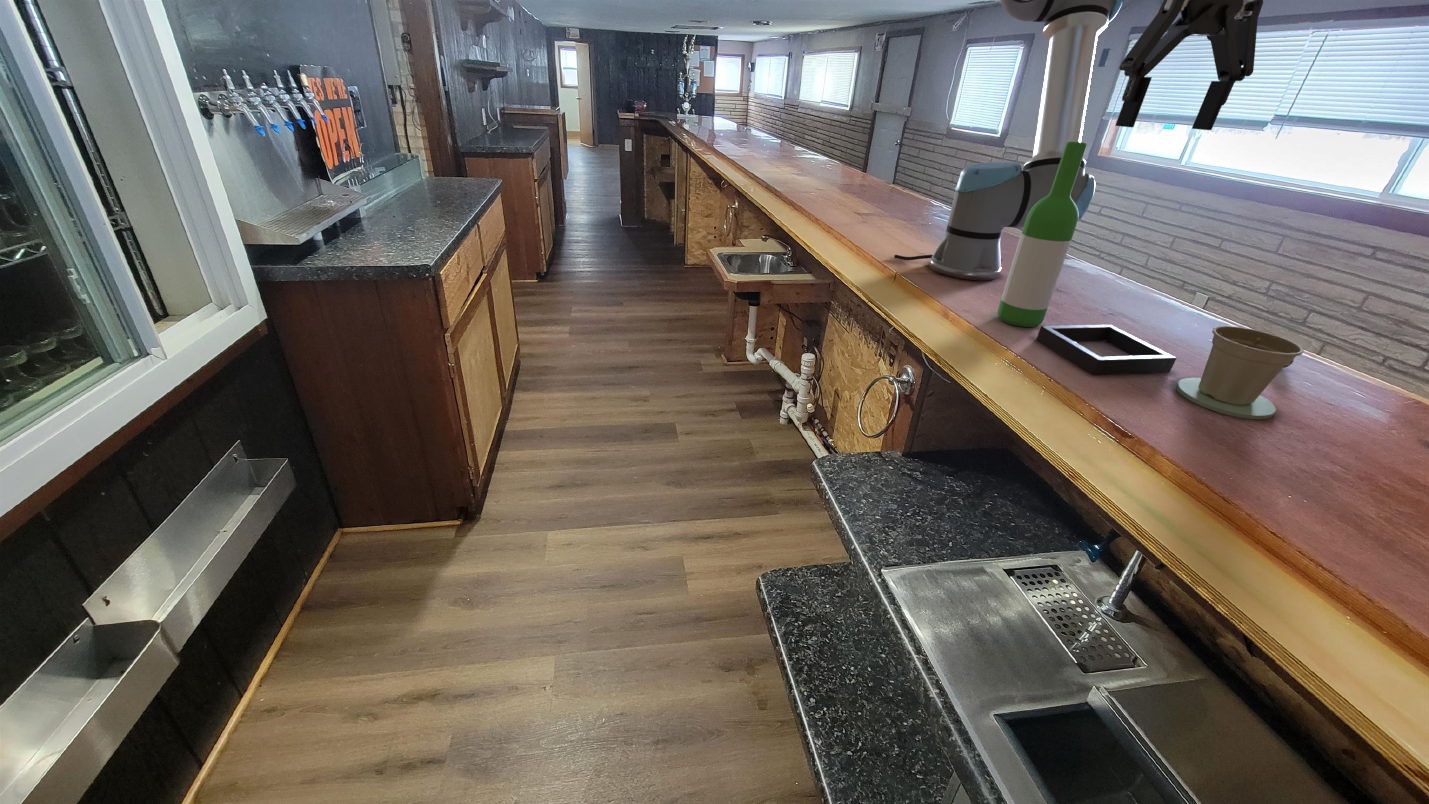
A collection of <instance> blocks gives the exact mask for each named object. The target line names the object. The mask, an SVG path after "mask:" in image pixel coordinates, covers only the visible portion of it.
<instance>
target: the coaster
mask: <svg viewBox="0 0 1429 804" xmlns="http://www.w3.org/2000/svg"><path fill="white" fill-rule="evenodd" d="M1201 378H1202V377H1184V378H1182V379H1179V381H1178V382H1177V384H1176V386H1175V387H1176V391H1177V392H1178V393H1179V394H1180V395H1181V396H1182V397H1184V399H1187V400H1189V401H1190V402H1192V403H1193V404H1196V405H1198V406H1200V407H1202V408H1206V409H1208V410H1210V411H1214V412H1217V413H1219V414H1223V415H1227V416H1230V417H1235V418H1241V419H1248V420H1267V419H1270V418H1272V417H1274V415H1275V414H1276V412H1277V408H1276V406H1275V404H1274V403H1273V402H1272V401H1271V400H1269V399H1268V398H1266V397H1265V396H1264V395H1261V394H1260V395H1259V396H1258V398H1257V399H1256V400H1255V401H1254V403H1252V404H1245V405H1235V404H1231V403H1226V402H1222V401H1219V400H1216V399H1214V397H1213V396H1211V395H1210V394H1204V393H1202V392H1201V391H1200V390H1199V388H1198V386H1199V383H1200V381H1201Z"/></svg>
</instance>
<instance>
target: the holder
mask: <svg viewBox="0 0 1429 804" xmlns="http://www.w3.org/2000/svg"><path fill="white" fill-rule="evenodd" d="M1037 333H1038V334H1037V336H1036V339H1035V340H1036V341H1038V342H1039V343H1041V344H1043V345H1044V346H1046V347H1047V348H1049V349H1050V350H1053V351H1054V352H1055V353H1057V354H1059V355H1060V356H1062V357H1064V358H1065V359H1067V360H1068V361H1070V362H1071V363H1073V364H1075V365H1076V366H1077V367H1079V368H1081V369H1083V370H1084V371H1086V372H1088V373H1089V374H1091V375H1092V376H1106V375H1129V374H1130V375H1131V374H1159V373H1161V374H1162V373H1170V372H1171V371H1172V368H1173V366H1174V364H1175V363H1176V360H1177V357H1176V356H1174V355H1172V354H1170V353H1169V352H1166V351H1164V350H1163V349H1161V348H1158V347H1156V346H1154V345H1152V344H1150V343H1149V342H1146V341H1145V340H1142V339H1141V338H1139V337H1136V336H1134V335H1132V334H1130V333H1129V332H1126V331H1125V330H1123V329H1121V328H1118V327H1117V326H1115V325H1113V324H1071V325H1070V324H1067V325H1066V324H1065V325H1041V326H1040V328H1039V331H1038V332H1037ZM1092 341H1093V342H1097V341H1098V342H1101V341H1102V342H1103V341H1104V342H1106V343H1108V344H1110V345H1111V346H1113V347H1115V348H1118V349H1119V350H1120V351H1123V352H1125V353H1126V354H1128V355H1115V356H1111V355H1110V356H1100V355H1099V354H1097V353H1095V352H1093V351H1091V350H1089V349H1088V348H1086V347H1085V346H1083V345H1081V344H1079V343H1077V342H1092Z"/></svg>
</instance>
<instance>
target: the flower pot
mask: <svg viewBox="0 0 1429 804" xmlns="http://www.w3.org/2000/svg"><path fill="white" fill-rule="evenodd" d="M1212 334H1213V336H1212V339H1211V343H1212V345H1211V349H1210V352H1209V355H1208V358H1207V361H1206V363H1205V367H1204V368H1203V369H1204V370H1203V372H1202V376H1201V377H1200V378H1201V381H1200V383H1199V386H1198V388H1199V390H1200V391H1201V392H1202V393H1204V394H1210V395H1211V396H1213V397H1214V399H1216V400H1219V401H1222V402H1226V403H1231V404H1235V405H1245V404H1252V403H1254V401H1255V400H1256V399H1257V398H1258V396H1259V395H1261V394H1262V393H1263V392H1264V391H1265V390H1266V388H1267V387H1268V386H1269V385H1270V384H1271V383H1272V382H1273V380H1275V378H1276V377H1277V376H1278V375H1279V373H1280V372H1281V371H1282V370H1283V369H1284V368H1283V367H1284V366H1285V365H1286V364H1288V363H1290V362H1291V361H1292V360H1293V359H1294V360H1295V358H1296V357H1299V356H1301V355H1302V354H1303V353H1304V351H1305V350H1304V348H1303V346H1301V345H1299V344H1298V343H1295V342H1294V341H1291V339H1290V340H1289V339H1287V338H1285V337H1283V336H1279V335H1276V334H1272V333H1270V332H1266V331H1262V330H1258V329H1254V328H1248V327H1241V326H1235V325H1232V326H1231V325H1219V326H1215V327H1213V329H1212ZM1294 360H1293V361H1294Z"/></svg>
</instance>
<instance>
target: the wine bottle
mask: <svg viewBox="0 0 1429 804" xmlns="http://www.w3.org/2000/svg"><path fill="white" fill-rule="evenodd" d="M1087 147H1088V143H1086V142H1082V141H1081V142H1067V143H1066V146H1065V149H1064V152H1063V155H1062V158H1061V161H1060V164H1059V167H1058V170H1057V173H1056V176H1055V179H1054V182H1053V185H1052V188H1051V191H1050V193H1049V194H1048V195H1047V196H1046V197H1044V198H1042V199H1041V200H1039V201H1038V202H1037V203H1036V204H1035V205H1034V206H1033V207H1032V208H1031V209H1030V211H1029V213H1028V215H1027V217H1026V220H1025V224H1024V227H1023V228H1022V230H1021V232H1020V235H1019V236H1020V237H1019V240H1018V243H1017V246H1016V249H1015V253H1014V255H1013V259H1012V262H1011V265H1010V269H1009V272H1008V275H1007V278H1006V281H1005V285H1004V288H1003V292H1002V295H1001V297H1000V301H999V305H998V308H997V317H998V318H999V320H1001V321H1002V322H1003V323H1006V324H1008V325H1010V326H1011V325H1012V326H1014V327H1015V326H1016V327H1021V328H1034V327H1038V326H1039V325H1041V324H1042V323H1043V321H1044V320H1045V317H1046V314H1047V311H1048V308H1049V307H1050V303H1051V300H1052V298H1053V294H1054V292H1055V288H1056V286H1057V283H1058V281H1059V277H1060V274H1061V271H1062V268H1063V266H1064V263H1065V260H1066V257H1067V254H1068V252H1069V248H1070V246H1071V243H1072V240H1073V237H1074V233H1075V231H1076V228H1077V225H1078V223H1079V222H1078V216H1079V214H1078V209H1077V206H1076V204H1075V203H1074V201H1073V200H1072V199H1071V192H1072V189H1073V186H1074V183H1075V180H1076V177H1077V174H1078V171H1079V168H1080V164H1081V161H1082V158H1083V159H1084V155H1085V152H1086V149H1087ZM1077 222H1078V223H1077Z"/></svg>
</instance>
